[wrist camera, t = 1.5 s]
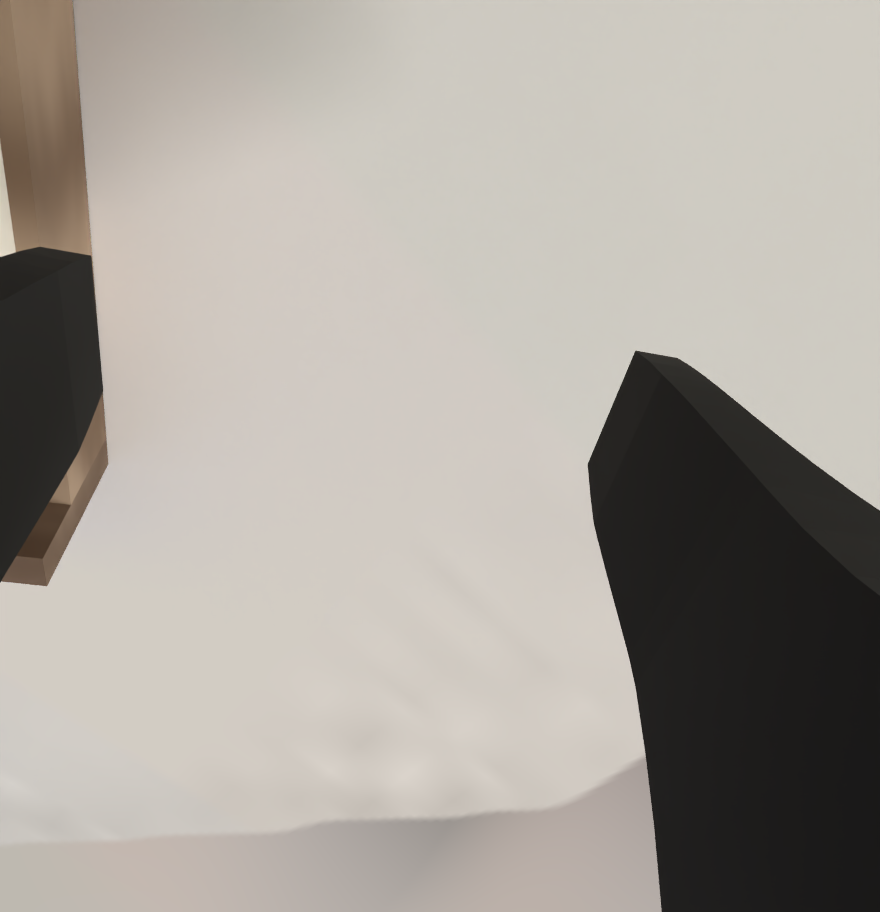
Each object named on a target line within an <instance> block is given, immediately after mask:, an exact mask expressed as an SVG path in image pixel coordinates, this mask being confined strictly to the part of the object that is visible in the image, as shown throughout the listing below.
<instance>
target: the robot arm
mask: <svg viewBox="0 0 880 912" xmlns="http://www.w3.org/2000/svg"><path fill="white" fill-rule="evenodd" d="M102 392H103V384H102V373H101V361H100V349H99V338H98V326H97V315H96V303H95V292H94V280H93V268H92V257H91V255H85V254H79V253H74V252H68V251H62V250H57V249H51V248H45V247H36V248H31V249H26V250H22V251H19V252H15V253H12V254H9V255H5V256H2V257H0V582H1V580H2V579H3V577H4V576H5V574H6V572H7V571H8V569H9V567H10V566H11V564H12V562H13V561H14V559H15V557H16V556H17V554H18V552H19V551H20V549H21V548H22V546H23V544H24V543H25V541H26V539H27V538H28V536H29V534H30V533H31V531H32V529H33V528H34V526H35V524H36V523H37V521H38V520H39V518H40V516H41V515H42V513H43V511H44V510H45V508H46V506H47V505H48V503H49V501H50V500H51V498H52V496H53V495H54V493H55V491H56V490H57V488H58V486H59V485H60V483H61V481H62V480H63V478H64V476H65V475H66V473H67V471H68V469H69V468H70V466H71V464H72V463H73V461H74V459H75V457H76V456H77V454H78V452H79V450H80V448H81V445H82V443H83V441H84V438H85V436H86V433H87V431H88V429H89V426H90V424H91V421H92V419H93V416H94V413H95V411H96V408H97V406H98V403H99V400H100V398H101V395H102ZM588 472H589V484H590V495H591V504H592V512H593V520H594V526H595V530H596V534H597V538H598V542H599V546H600V550H601V554H602V558H603V561H604V565H605V569H606V573H607V577H608V580H609V584H610V588H611V592H612V595H613V599H614V603H615V606H616V610H617V614H618V618H619V621H620V625H621V629H622V632H623V636H624V640H625V644H626V647H627V651H628V655H629V659H630V664H631V668H632V673H633V677H634V682H635V686H636V692H637V699H638V706H639V713H640V719H641V726H642V733H643V739H644V746H645V753H646V761H647V769H648V778H649V785H650V794H651V803H652V811H653V820H654V829H655V840H656V851H657V862H658V874H659V885H660V896H661V908H662V912H880V511H879V510H878V509H876V508H875V507H874V506H872V505H871V504H869V503H868V502H866V501H865V500H863V499H862V498H860V497H859V496H857V495H856V494H855V493H853V492H852V491H850V490H849V489H848V488H846V487H845V486H844V485H842V484H841V483H839V482H838V481H837V480H835V479H834V478H833V477H831V476H830V475H829V474H827V473H826V472H824V471H823V470H822V469H820V468H819V467H818V466H816V465H815V464H814V463H812V462H811V461H810V460H808V459H807V458H806V457H805V456H803V455H802V454H801V453H799V452H798V451H797V450H796V449H794V448H793V447H792V446H790V445H789V444H788V443H787V442H785V441H784V440H783V439H782V438H780V437H779V436H778V435H777V434H775V433H774V432H773V431H772V430H770V429H769V428H768V427H767V426H765V425H764V424H763V423H762V422H761V421H759V420H758V419H757V418H756V417H754V416H753V415H752V414H751V413H750V412H748V411H747V410H746V409H745V408H743V407H742V406H741V405H740V404H739V403H737V402H736V401H735V400H734V399H732V398H731V397H730V396H729V395H728V394H726V393H725V392H724V391H723V390H721V389H720V388H719V387H718V386H716V385H715V384H714V383H712V382H711V381H710V380H709V379H707V378H706V377H705V376H703V375H702V374H701V373H699V372H698V371H697V370H695V369H694V368H692V367H691V366H689V365H688V364H686V363H685V362H683V361H681V360H680V359H678V358H674V357H668V356H663V355H657V354H651V353H645V352H640V351H635V353H634V356H633V358H632V360H631V363H630V365H629V367H628V370H627V372H626V375H625V377H624V379H623V382H622V384H621V386H620V389H619V391H618V394H617V396H616V398H615V401H614V403H613V405H612V408H611V410H610V413H609V415H608V417H607V420H606V422H605V424H604V427H603V429H602V432H601V434H600V436H599V439H598V441H597V443H596V446H595V448H594V451H593V453H592V455H591V458H590V460H589V462H588Z"/></svg>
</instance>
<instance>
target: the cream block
mask: <svg viewBox="0 0 880 912" xmlns="http://www.w3.org/2000/svg"><path fill="white" fill-rule="evenodd" d="M15 252H16V250H15V243H14V236H13V229H12V221H11V214H10V207H9V200H8V193H7V186H6V179H5V172H4V165H3V158H2V151H1V144H0V257H2V256H5V255H9V254H12V253H15Z"/></svg>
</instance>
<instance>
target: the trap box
mask: <svg viewBox="0 0 880 912" xmlns="http://www.w3.org/2000/svg"><path fill="white" fill-rule="evenodd" d="M0 144H1V151H2V158H3V165H4V172H5V179H6V186H7V193H8V200H9V207H10V214H11V221H12V229H13V236H14V243H15V250H16V252H19V251H22V250H26V249H31V248H36V247H45V248H51V249H57V250H62V251H68V252H74V253H79V254H85V255H91V257H92V248H91V236H90V223H89V210H88V197H87V184H86V171H85V158H84V145H83V132H82V119H81V106H80V94H79V81H78V68H77V55H76V42H75V29H74V16H73V3H72V0H0ZM92 268H93V261H92ZM93 280H94V274H93ZM94 292H95V287H94ZM95 303H96V300H95ZM96 315H97V313H96ZM107 465H108V455H107V442H106V429H105V416H104V403H103V392H102V395H101V398H100V400H99V403H98V406H97V408H96V411H95V413H94V416H93V419H92V421H91V424H90V426H89V429H88V431H87V433H86V436H85V438H84V441H83V443H82V445H81V448H80V450H79V452H78V454H77V456H76V457H75V459H74V461H73V463H72V464H71V466H70V468H69V469H68V471H67V473H66V475H65V476H64V478H63V480H62V481H61V483H60V485H59V486H58V488H57V490H56V491H55V493H54V495H53V496H52V498H51V500H50V501H49V503H48V505H47V506H46V508H45V510H44V511H43V513H42V515H41V516H40V518H39V520H38V521H37V523H36V524H35V526H34V528H33V529H32V531H31V533H30V534H29V536H28V538H27V539H26V541H25V543H24V544H23V546H22V548H21V549H20V551H19V552H18V554H17V556H16V557H15V559H14V561H13V562H12V564H11V566H10V567H9V569H8V571H7V572H6V574H5V576H4V577H3V579H2V580H1V581H3V582H13V583H22V584H32V585H41V586H47V585H48V583H49V581H50V579H51V577H52V575H53V573H54V571H55V569H56V567H57V565H58V563H59V561H60V559H61V557H62V555H63V553H64V551H65V549H66V547H67V545H68V543H69V541H70V539H71V537H72V535H73V533H74V531H75V529H76V527H77V525H78V523H79V521H80V519H81V517H82V515H83V513H84V511H85V509H86V507H87V505H88V503H89V501H90V499H91V497H92V495H93V493H94V491H95V489H96V487H97V485H98V483H99V481H100V479H101V477H102V475H103V473H104V471H105V469H106V467H107Z"/></svg>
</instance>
